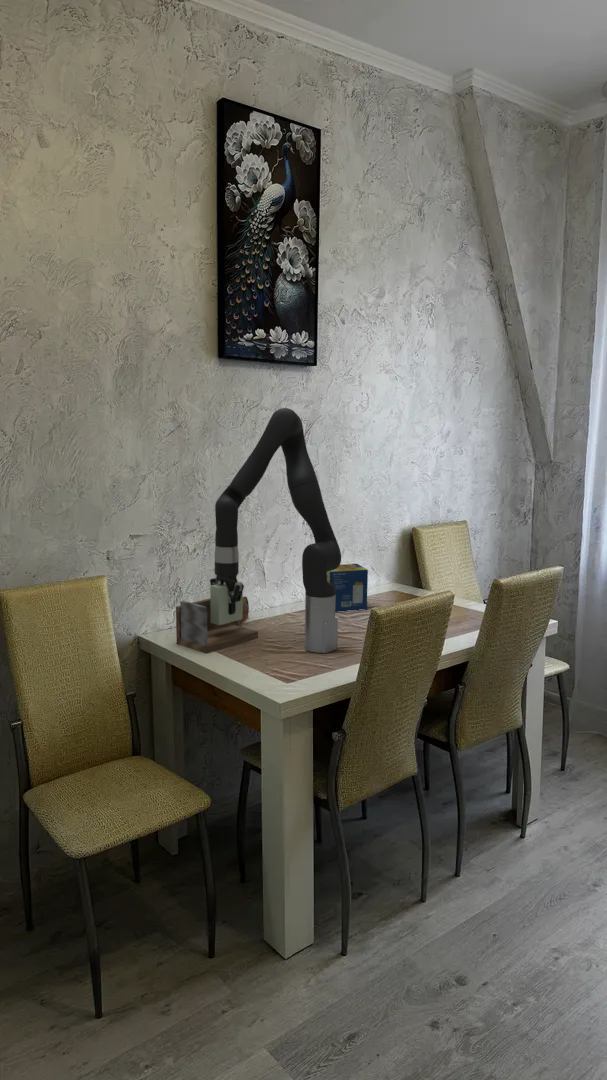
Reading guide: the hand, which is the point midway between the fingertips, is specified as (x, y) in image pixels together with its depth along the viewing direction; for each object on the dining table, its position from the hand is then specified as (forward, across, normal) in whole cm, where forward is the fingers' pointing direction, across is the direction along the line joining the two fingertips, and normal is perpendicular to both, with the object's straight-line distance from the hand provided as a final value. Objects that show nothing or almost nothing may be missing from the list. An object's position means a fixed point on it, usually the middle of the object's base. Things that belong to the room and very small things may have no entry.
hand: (226, 612), depth 238 cm
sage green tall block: (+3, 0, 0) cm, 3 cm away
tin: (+10, +12, -16) cm, 22 cm away
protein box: (+9, -2, -57) cm, 57 cm away
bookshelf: (+9, +2, +2) cm, 9 cm away
